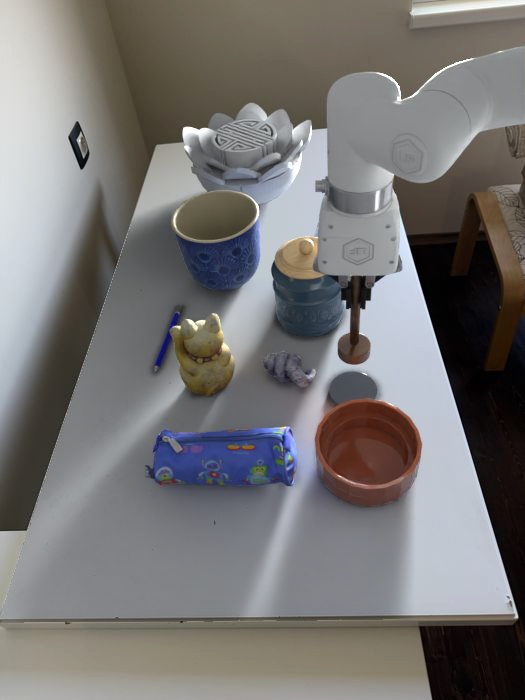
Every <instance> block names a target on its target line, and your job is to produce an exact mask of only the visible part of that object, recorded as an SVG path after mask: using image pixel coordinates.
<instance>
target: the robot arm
mask: <svg viewBox="0 0 525 700" xmlns="http://www.w3.org/2000/svg"><path fill="white" fill-rule="evenodd" d="M401 97H402V95H401V90H400V86H399V85H398V83H397V82H396V81H395V79H393V78H392V77H391V76H388V75H387V74H384V73H381V72H375V71H362V72H355V73H350V74H346V75H344V76H342V77H340V78H339V79H337V80H336V81H334V83H333V84H331V86H330V88H329V90H328V93H327V96H326V144H327V145H326V153H327V155H326V156H327V157H326V159H327V162H326V163H327V164H326V165H327V175H325V177H324V178H322V179H321V180H320V179H317V180H314V181H315V182H314V183H315V184H314V188H315V189H314V191H315V193H321V194H324V195H323V197H322V201H321V204H320V209H319V214H318V222H319V223H318V222H317V225H318V245H317V254H316V257H315V259H314V261H313V270H314V271H316V272H319V273H323V274H327V275H329V276H330V277H331V278H332V279H334V280H335V281H336V282H338V283H339V286H340V287H341V301H345V310H350V308H351V287H352V283H351V276H362V283H361V299H360V310H364V311H365V310H366V307H367V302H371V301H372V289H373V288H374V287H375V284H376V283H377V282H379V281H380V280H382V279H383V278H384V277H386V276H388V275H393V274H396V273H400V272H403V260H402V258H401V255H400V242H401V240H400V239H401V211H400V205H399V200H398V196H397V194H396V193H395V191H394V178H395V176H396V177H398V178H400V179H402V180H405V181H408V182H410V183H415V184H426V183H427V184H428V183H431V182H434V181H435V180H438V179H439V178H441V177H442V176H444V175H445V174H446V173H447V172H448V171H449V169H450V168H451V167H452V166H453V165H454V164H455V162H456V161H457V160H458V159H459V158H460V157H461V155H462V154H463V152H464V151H465V150H466V149H467V147H468V146H469V145H470V143H471V142H473V140H474V139H475V137H477V135H478V134H479V133H482V132H485V131H489V130H495V129H501V128H507V127H512V126H513V127H514V126H521V125H525V45H523V46H522V45H521V46H517V47H513V48H509V49H505V50H500V51H496V52H493V53H489V54H485V55H481V56H477V57H473V58H470V59H466V60H463V61H459V62H455V63H454V64H451V65H448V66H447V67H445V68H443V69H441V70H440V71H438V72H436V73H435V74H434V75H432V76H431V77H430V78H429V79H428V80H426V82H424V83H423V85H422V86H421V87H419V88H418V89H417V90H416V91H415V92H414V93H413V94H412V95H411V96H408V97H406V98H402V99H401Z"/></svg>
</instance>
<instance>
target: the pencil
mask: <svg viewBox="0 0 525 700" xmlns="http://www.w3.org/2000/svg"><path fill="white" fill-rule="evenodd" d="M182 309H183V306H181V305H178V306H177V307H176V309H175V311H174V314H173V317H172V319H171V322H170V325H169V327H168V330H167V332H166V334H165V337H164V340H163V343H162V345H161V348H160V351H159V353H158V355H157V358H156V360H155V363H154V368H153V369H154V372H155V373H156V372H157V371H158V370H160V368H161V366H162V362H163V360H164V357H165V355H166V351H167V349H168V347H169V345H170V344H169V343H170V341H171V339H172V336H171V334H170V332H169V330H170V329H171V328H172V327H173V326H177V323H178V320H179V317H180V315H181V312H182Z"/></svg>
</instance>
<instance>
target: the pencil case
mask: <svg viewBox="0 0 525 700" xmlns="http://www.w3.org/2000/svg"><path fill="white" fill-rule="evenodd" d="M152 453H154V456H153V459H152V466H151V465H148V464H145V465H144V477H145V478H149V479H152V480H153V482H154V483H155V484H157V485H159V486H168V485H176V484H177V485H178V484H179V485H180V484H181V485H202V486H235V487H236V486H239V487H241V486H246V487H247V486H265V485H274V484H275V485H276V484H279V483H282V484H283V485H284V486H286V487H292V486H293V485H294V483H295V477H296V472H297V468H298V450H297V445H296V442H295V437H294V434H293V429H292V428H291V427H290V426H281V427H280V426H278V427H254V428H253V427H251V428H239V429H238V428H237V429H223V430H217V431H216V430H215V431H204V432H203V431H202V432H198V431H197V432H195V431H194V432H192V431H190V432H189V431H187V432H180V431H177V432H176V433H173V431H172V430H170V429H167V428H164V429H163V430H161V431H160V433H159V434H157V436H156V438H155V443H154V445H153V449H152Z"/></svg>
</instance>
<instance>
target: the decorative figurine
mask: <svg viewBox="0 0 525 700" xmlns="http://www.w3.org/2000/svg"><path fill="white" fill-rule="evenodd" d="M169 332H170V334H171V339H172V341H173V345H174V354H175V358H176V360H177V362H178V364H179V368H178V373H179V376H180V379H181V380H182V382H183V384H184V385H185V386H186V388H187V389H188V391H190V392H191V393H193V394H195V395H199V396H200V395H201V396H206V397H212V396H213V395H214V394H216V393H218V392H220V391H222V390H224V389H225V388H227V386H228V385H229V384H230V382H231V381H232V378H233V375H234V372H235V367H236V364H235V363H236V362H235V358H234V356H233V354H232V352H231V349H230V348H229V346H228V345H227V344H226V343H224V337H225V336H224V332H223V329H222V325H221V320H220V317H219V315H218V314H217V313H214V312H213V313H210V314H209V315H208V316H206V318H205V320H204V319H200V320H197V321H195V322H194V321H193V320H192V319H187V318H186V319H183V320H182V321H181V322H180V325H176V326H173V327H172V328H171V329H170V330H169Z"/></svg>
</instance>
